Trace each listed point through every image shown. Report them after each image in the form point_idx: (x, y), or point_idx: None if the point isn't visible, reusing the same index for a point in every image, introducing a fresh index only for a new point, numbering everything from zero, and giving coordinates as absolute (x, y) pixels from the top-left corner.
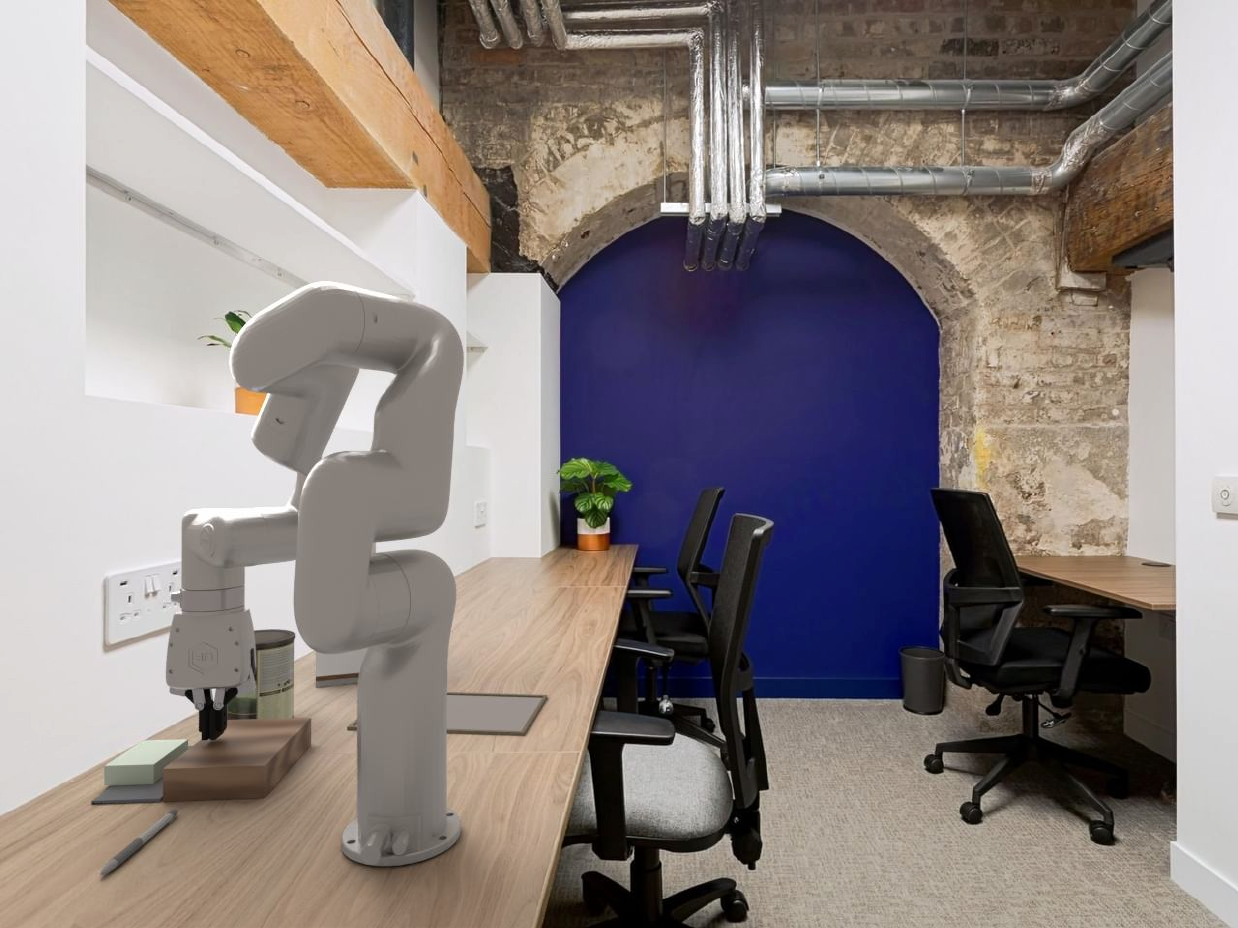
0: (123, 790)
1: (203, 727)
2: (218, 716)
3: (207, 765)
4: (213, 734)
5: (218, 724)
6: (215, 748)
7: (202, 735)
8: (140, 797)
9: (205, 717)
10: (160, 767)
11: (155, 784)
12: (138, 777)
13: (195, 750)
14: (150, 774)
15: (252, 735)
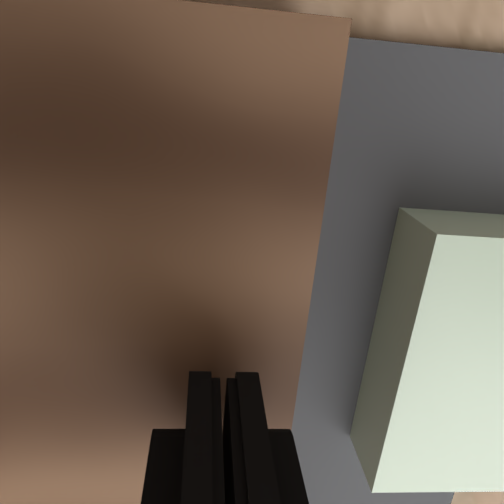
0: (496, 155)
1: (254, 420)
2: (166, 502)
3: (83, 26)
4: (190, 387)
5: (171, 454)
6: (165, 311)
7: (255, 386)
8: (411, 63)
9: (246, 475)
10: (406, 276)
11: (389, 199)
12: (470, 220)
13: (264, 295)
14: (428, 220)
15: (48, 462)
